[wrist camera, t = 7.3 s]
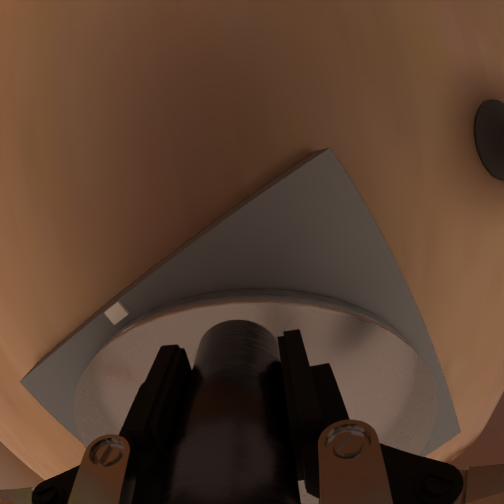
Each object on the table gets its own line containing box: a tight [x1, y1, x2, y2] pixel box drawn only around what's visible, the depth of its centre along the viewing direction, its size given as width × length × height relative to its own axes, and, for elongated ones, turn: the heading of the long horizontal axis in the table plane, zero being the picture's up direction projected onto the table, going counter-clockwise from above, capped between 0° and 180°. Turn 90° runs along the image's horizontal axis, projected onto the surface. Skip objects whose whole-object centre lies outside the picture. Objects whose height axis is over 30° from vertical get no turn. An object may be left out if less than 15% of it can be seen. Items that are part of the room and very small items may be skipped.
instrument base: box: [20, 148, 461, 457], centre depth 16 cm, size 22×22×3 cm
